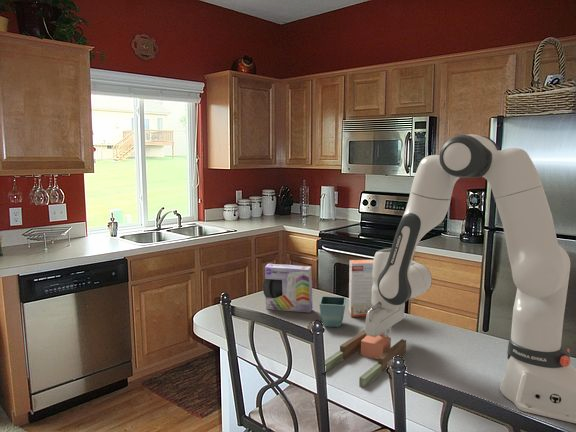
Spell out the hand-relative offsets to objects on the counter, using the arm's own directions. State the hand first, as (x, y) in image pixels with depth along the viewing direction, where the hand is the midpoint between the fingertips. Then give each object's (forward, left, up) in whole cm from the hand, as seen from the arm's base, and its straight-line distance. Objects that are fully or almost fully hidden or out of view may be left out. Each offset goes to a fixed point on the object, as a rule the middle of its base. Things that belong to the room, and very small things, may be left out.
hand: (384, 340), depth 142 cm
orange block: (0, +5, -2) cm, 6 cm away
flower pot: (+23, -6, -2) cm, 24 cm away
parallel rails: (0, +13, -2) cm, 13 cm away
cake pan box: (+45, -8, -2) cm, 46 cm away
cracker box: (+18, -23, -2) cm, 29 cm away
